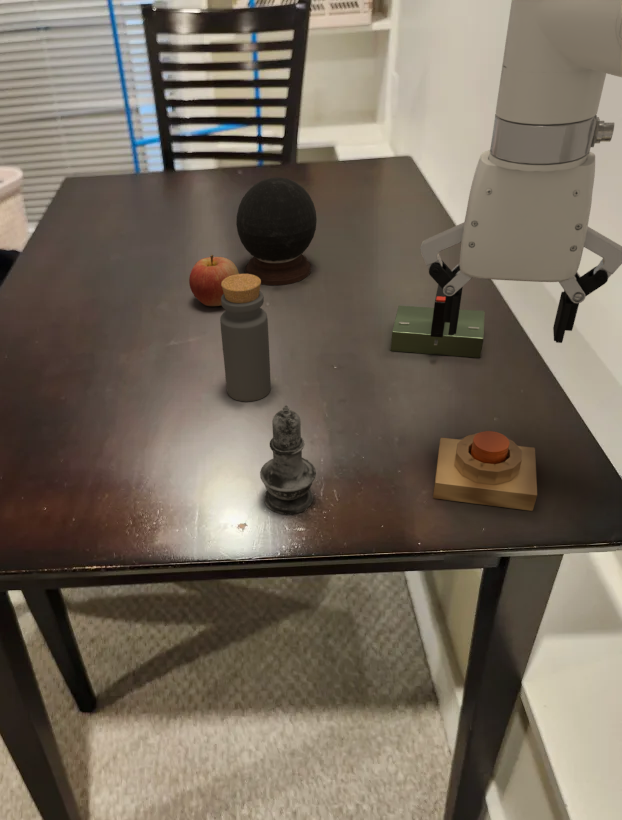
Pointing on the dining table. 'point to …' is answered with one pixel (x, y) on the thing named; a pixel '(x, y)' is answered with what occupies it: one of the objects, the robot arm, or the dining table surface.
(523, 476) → the button block
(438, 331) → the black block
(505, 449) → the button
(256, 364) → the bottle
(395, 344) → the clamp panel
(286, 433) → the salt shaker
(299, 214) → the black ball on stand
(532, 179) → the robot arm
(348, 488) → the dining table surface
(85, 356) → the dining table surface
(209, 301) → the apple
